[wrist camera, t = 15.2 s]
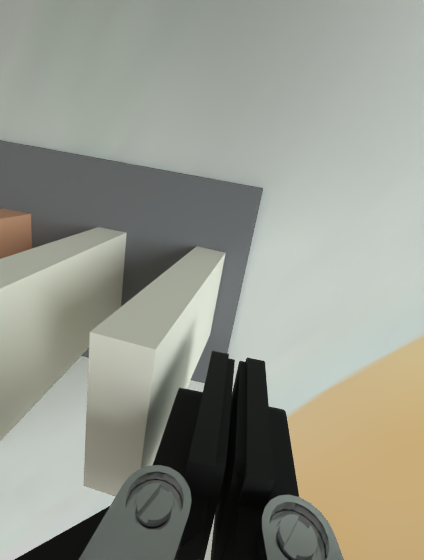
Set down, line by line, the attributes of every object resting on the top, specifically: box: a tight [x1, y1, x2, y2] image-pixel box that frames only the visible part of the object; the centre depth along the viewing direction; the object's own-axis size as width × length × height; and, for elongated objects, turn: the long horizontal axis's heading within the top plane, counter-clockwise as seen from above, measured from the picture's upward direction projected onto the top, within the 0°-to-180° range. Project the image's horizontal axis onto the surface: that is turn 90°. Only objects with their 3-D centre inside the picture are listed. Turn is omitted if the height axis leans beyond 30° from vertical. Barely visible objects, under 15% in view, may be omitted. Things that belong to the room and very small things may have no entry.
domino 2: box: [84, 246, 226, 496], centre depth 12 cm, size 2×5×10 cm, turn 170°
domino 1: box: [0, 227, 127, 441], centre depth 13 cm, size 2×5×10 cm, turn 170°
